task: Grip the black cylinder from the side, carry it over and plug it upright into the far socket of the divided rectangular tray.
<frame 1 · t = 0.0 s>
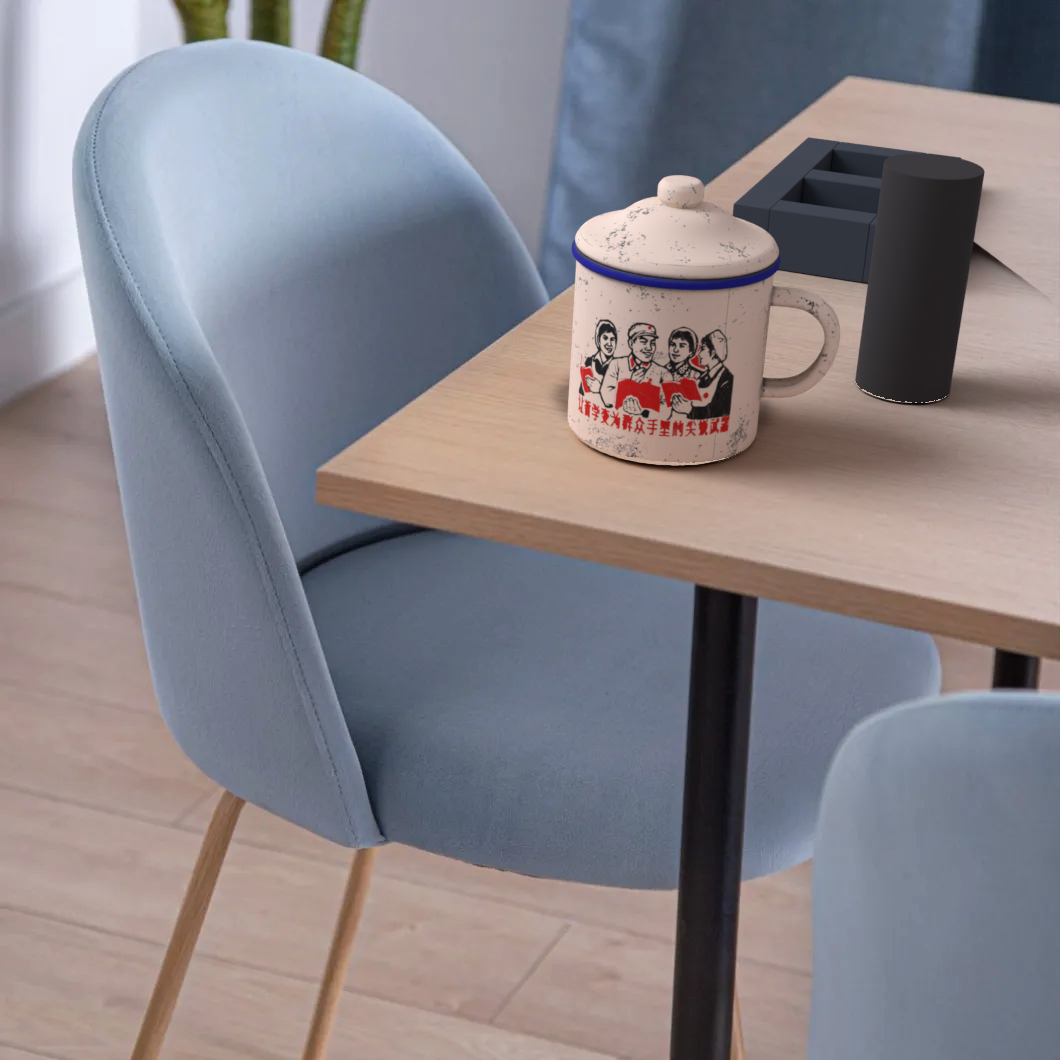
divided rectangular tray: (847, 234, 110), on the table
black cylinder: (902, 386, 87), on the table
teacup with lid: (692, 438, 80), on the table
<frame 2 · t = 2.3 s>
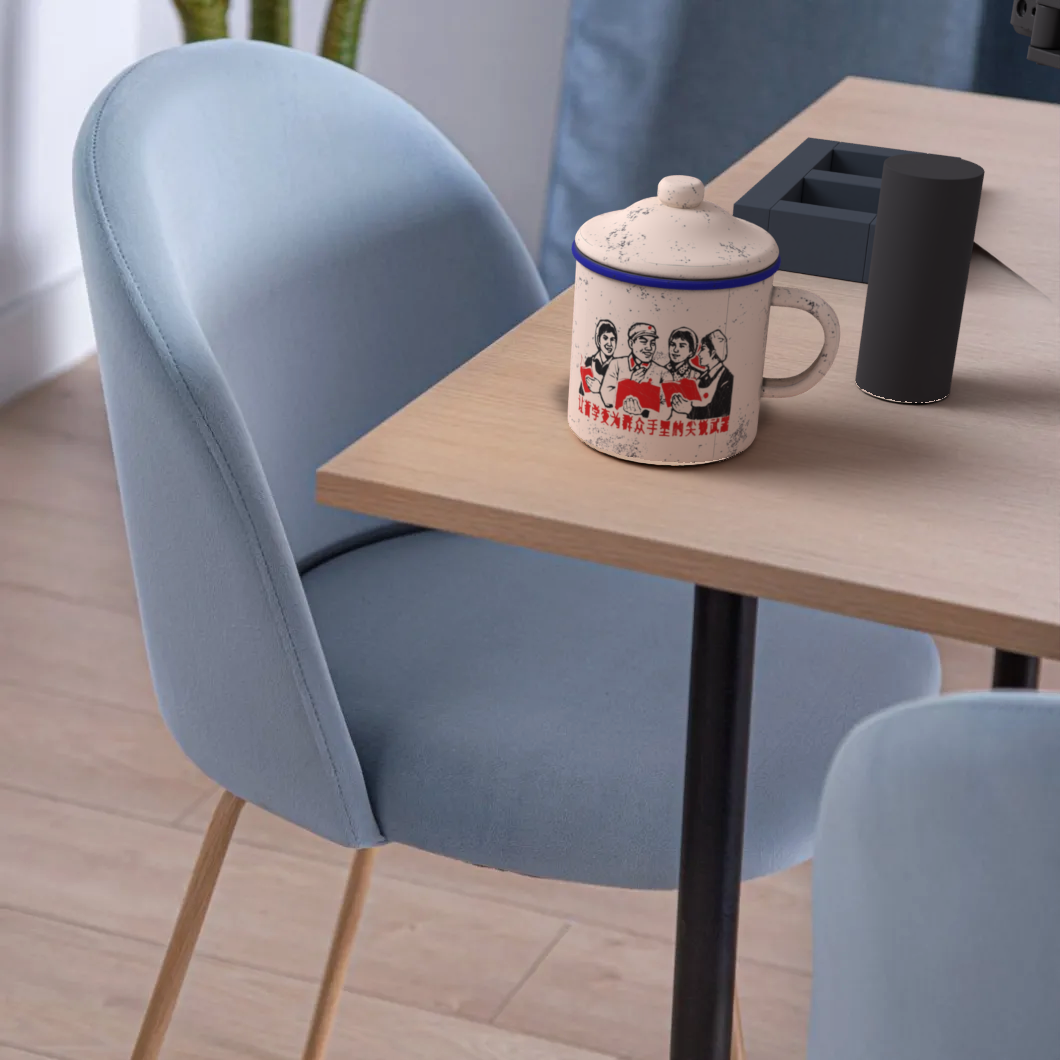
nothing on the table moved.
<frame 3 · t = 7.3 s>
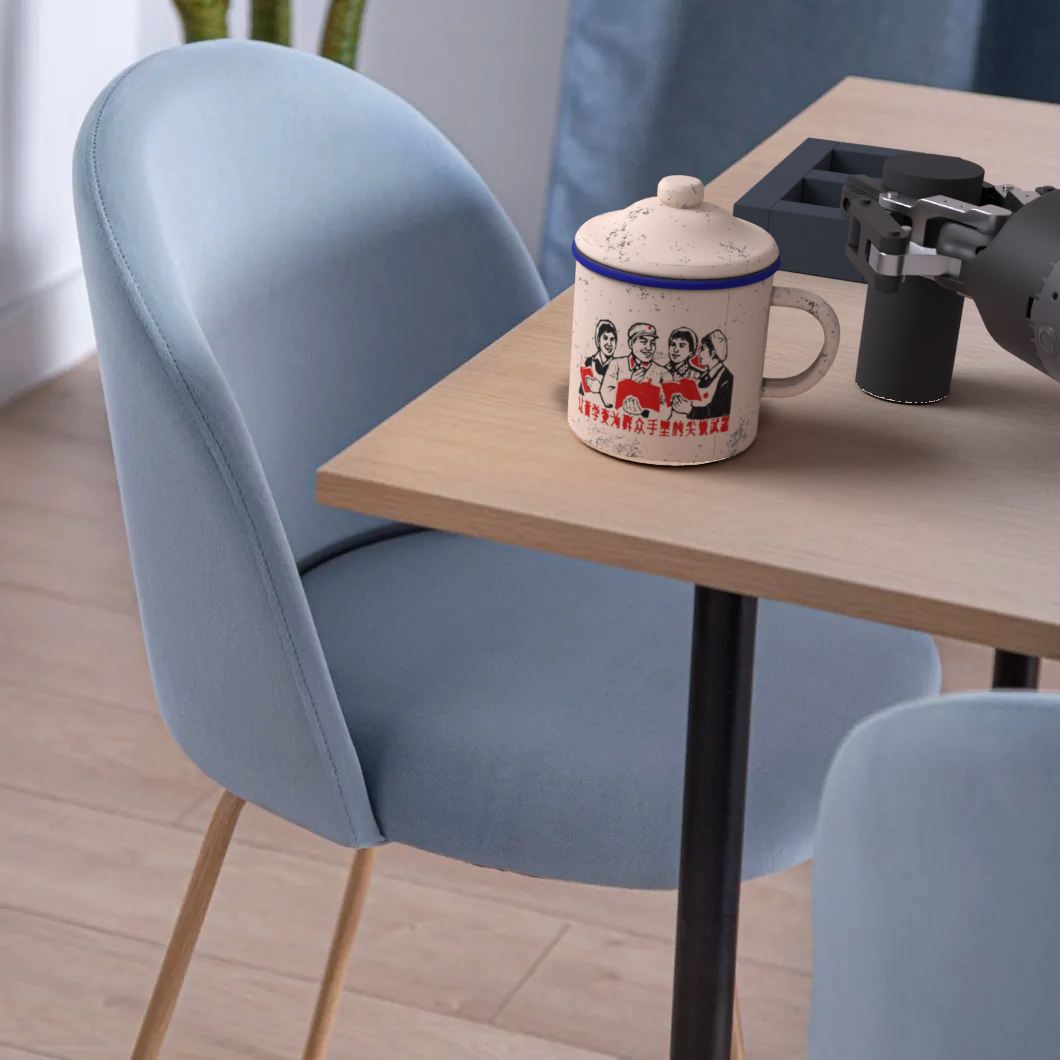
hand: (898, 192, 85), 9 cm above the table, tool horizontal, fingers closed on black cylinder, 4 cm apart
black cylinder: (902, 386, 87), on the table, touching gripper
everything else where it was.
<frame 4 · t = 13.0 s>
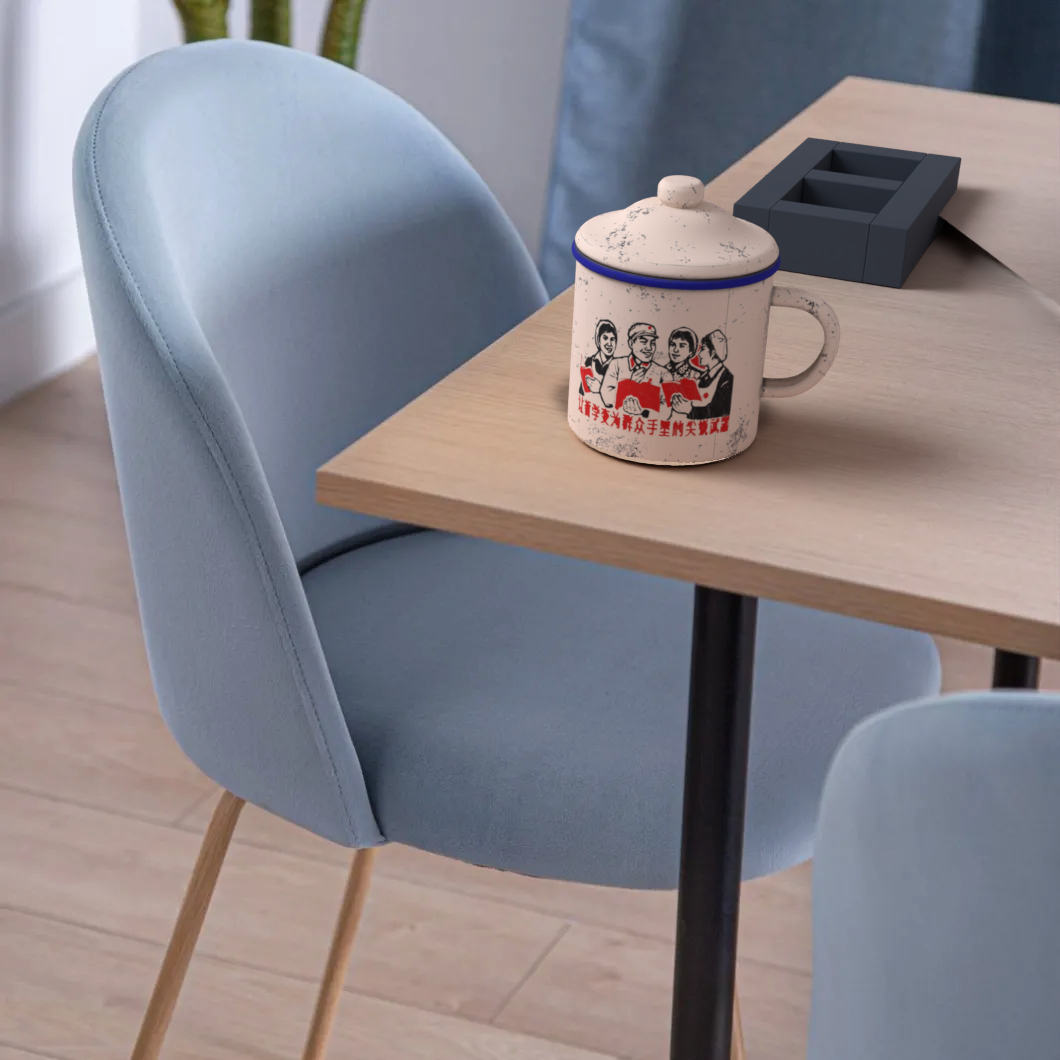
when the fingers open (9 cm above the table, at t = 18.5 s): black cylinder stays where it is, resting in divided rectangular tray.
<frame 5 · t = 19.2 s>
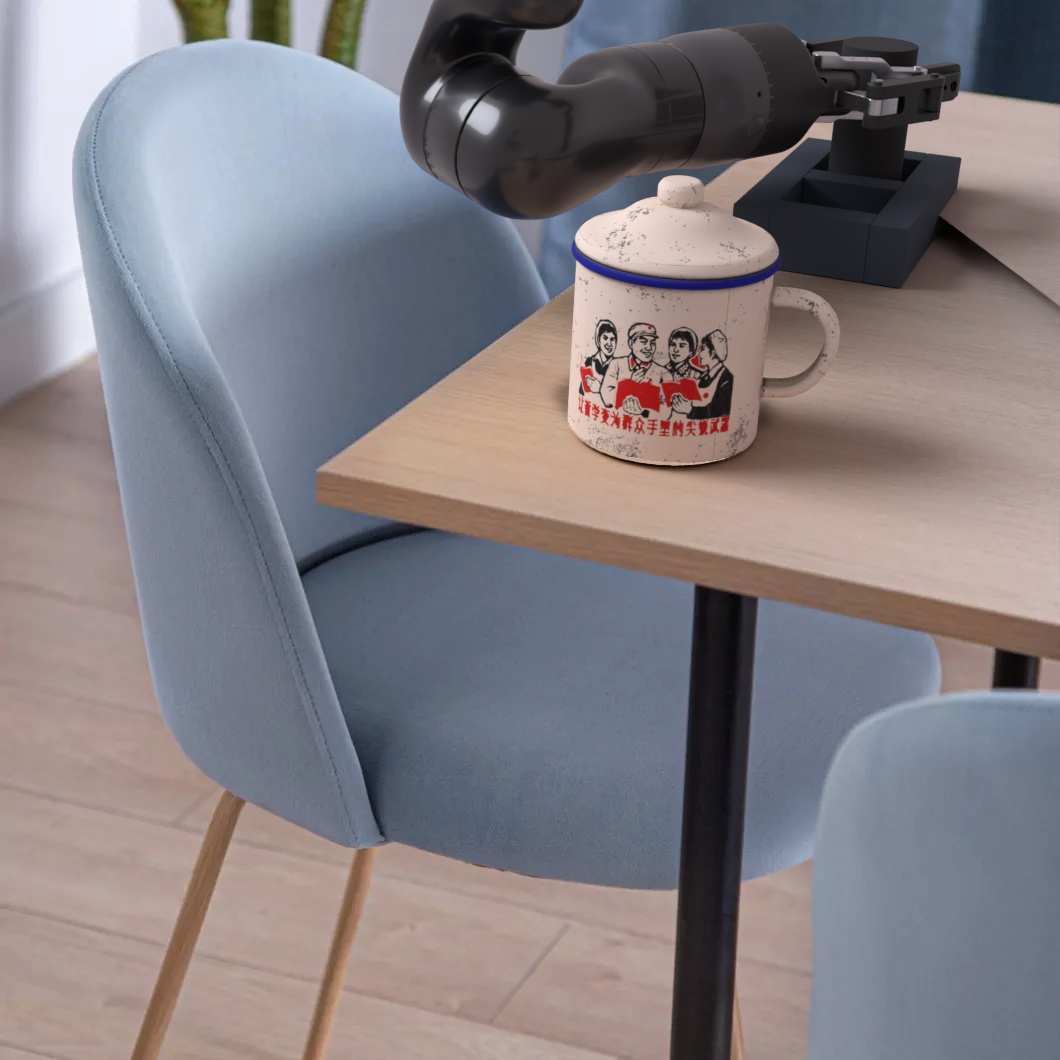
hand: (899, 67, 110), 9 cm above the table, tool horizontal, fingers open, 8 cm apart
black cylinder: (858, 218, 113), resting in divided rectangular tray
everything else where it was.
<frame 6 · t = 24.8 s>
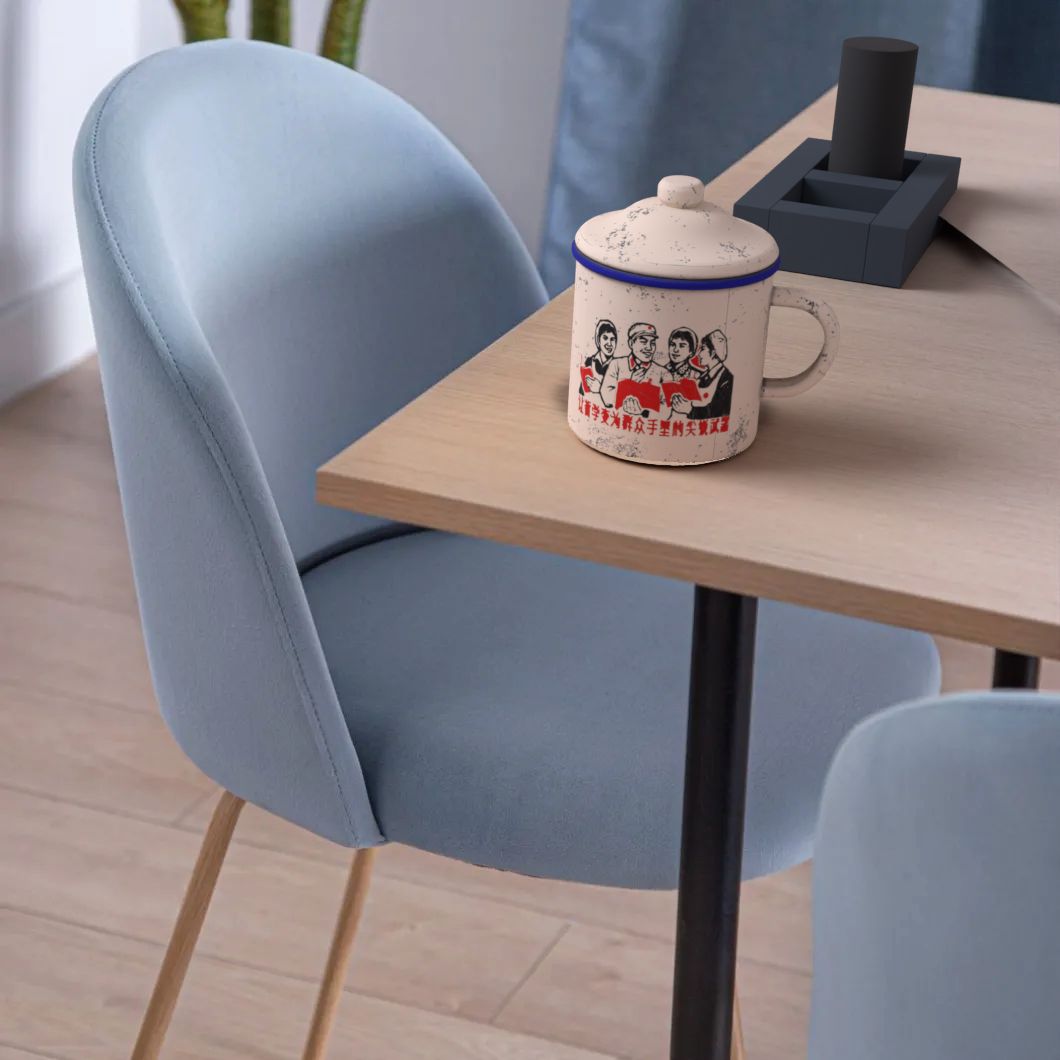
nothing on the table moved.
at the end: black cylinder 0.1 cm from the target spot in the divided rectangular tray, point 0.0 cm above the divided rectangular tray's base; black cylinder tilted 0°; the gripper is holding nothing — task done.
